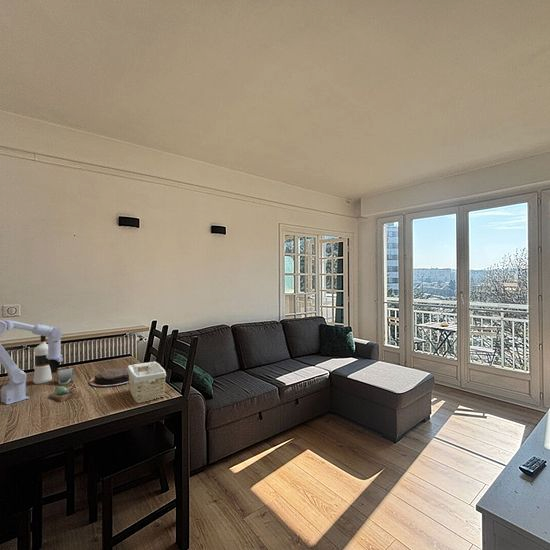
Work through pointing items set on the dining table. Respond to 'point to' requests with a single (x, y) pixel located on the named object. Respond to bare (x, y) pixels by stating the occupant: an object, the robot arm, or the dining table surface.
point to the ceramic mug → (65, 376)
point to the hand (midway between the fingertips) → (54, 372)
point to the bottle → (61, 391)
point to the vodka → (42, 363)
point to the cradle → (67, 396)
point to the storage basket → (146, 381)
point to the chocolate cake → (111, 377)
